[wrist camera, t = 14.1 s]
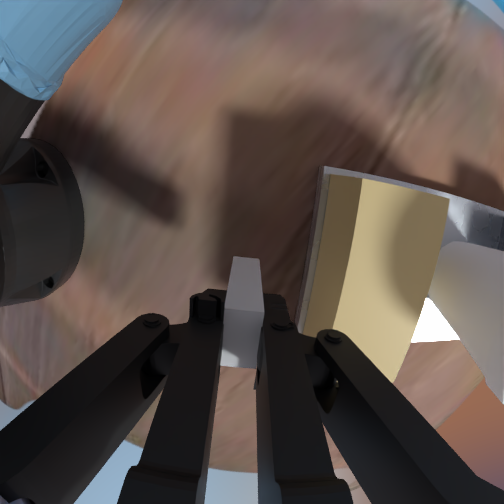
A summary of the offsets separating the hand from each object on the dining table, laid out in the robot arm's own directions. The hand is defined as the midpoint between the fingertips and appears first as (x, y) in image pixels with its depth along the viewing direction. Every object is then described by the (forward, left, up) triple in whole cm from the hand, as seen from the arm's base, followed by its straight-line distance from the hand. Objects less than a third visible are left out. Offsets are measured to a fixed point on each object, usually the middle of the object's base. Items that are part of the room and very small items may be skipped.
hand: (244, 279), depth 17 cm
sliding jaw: (+8, 0, -4) cm, 9 cm away
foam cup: (+19, 0, -4) cm, 19 cm away
